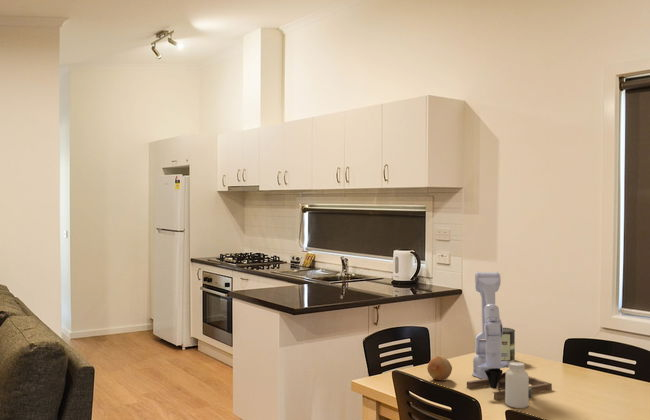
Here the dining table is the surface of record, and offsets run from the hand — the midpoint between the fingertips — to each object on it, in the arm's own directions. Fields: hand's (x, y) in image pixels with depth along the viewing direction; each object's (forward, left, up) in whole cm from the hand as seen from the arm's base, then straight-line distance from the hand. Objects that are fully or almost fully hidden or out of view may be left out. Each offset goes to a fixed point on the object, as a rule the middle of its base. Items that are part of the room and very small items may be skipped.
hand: (493, 387), depth 236 cm
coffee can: (-35, +37, -2) cm, 51 cm away
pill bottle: (+16, -3, -2) cm, 16 cm away
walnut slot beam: (0, +7, -1) cm, 7 cm away
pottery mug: (+2, +7, -2) cm, 7 cm away
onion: (-22, -9, -2) cm, 24 cm away
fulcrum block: (+10, +7, -1) cm, 13 cm away
